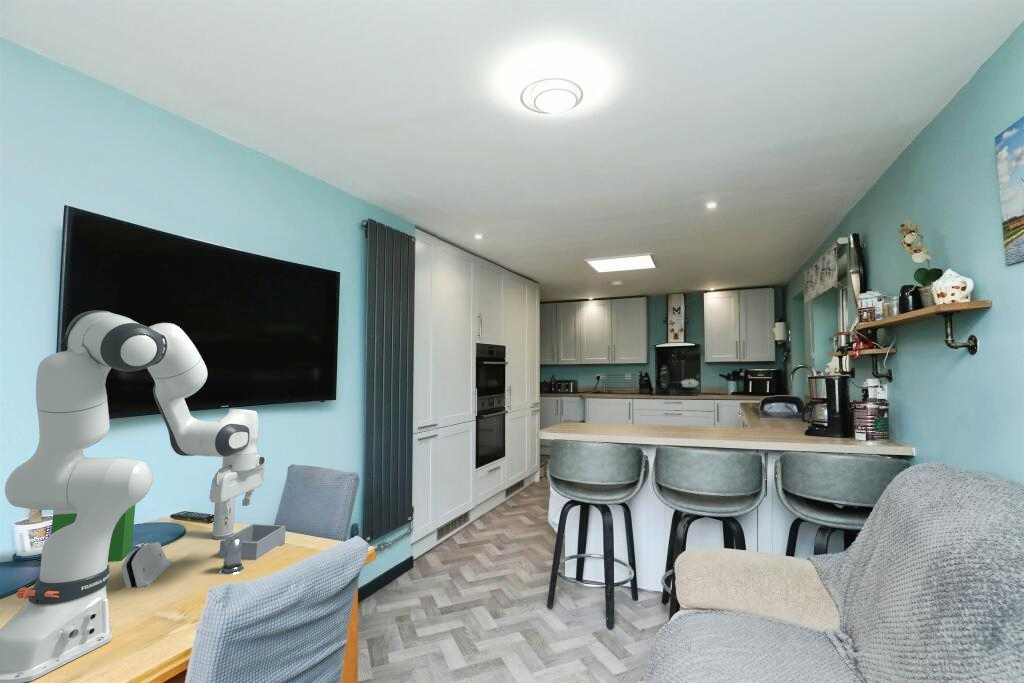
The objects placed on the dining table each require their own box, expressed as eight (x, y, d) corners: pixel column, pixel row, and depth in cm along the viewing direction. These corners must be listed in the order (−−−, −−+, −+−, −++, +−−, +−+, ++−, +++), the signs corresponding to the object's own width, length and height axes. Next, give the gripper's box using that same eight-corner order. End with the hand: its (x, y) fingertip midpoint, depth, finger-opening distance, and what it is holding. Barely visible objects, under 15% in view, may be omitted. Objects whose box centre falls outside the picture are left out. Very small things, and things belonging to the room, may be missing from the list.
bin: (255, 563, 147) (257, 543, 147) (218, 560, 148) (220, 541, 148) (284, 543, 164) (285, 525, 164) (251, 541, 164) (252, 523, 165)
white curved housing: (148, 590, 127) (137, 555, 127) (128, 598, 126) (116, 562, 126) (174, 565, 143) (163, 534, 143) (156, 572, 142) (145, 540, 142)
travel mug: (216, 533, 171) (220, 477, 172) (236, 533, 172) (240, 477, 173) (207, 539, 165) (212, 481, 166) (227, 539, 165) (232, 481, 167)
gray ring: (235, 579, 136) (235, 575, 136) (213, 577, 136) (213, 574, 136) (248, 569, 142) (249, 566, 142) (228, 568, 142) (228, 565, 142)
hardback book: (47, 566, 139) (55, 483, 141) (61, 557, 146) (69, 477, 148) (121, 560, 145) (128, 480, 147) (131, 551, 152) (137, 475, 154)
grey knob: (234, 574, 136) (237, 542, 137) (217, 573, 137) (219, 541, 137) (245, 567, 141) (247, 536, 142) (228, 565, 142) (231, 535, 142)
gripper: (227, 470, 130) (223, 521, 130) (269, 456, 151) (266, 500, 150) (205, 469, 131) (201, 520, 130) (249, 455, 151) (247, 499, 150)
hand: (236, 509), depth 140 cm, fingers open, 8 cm apart
